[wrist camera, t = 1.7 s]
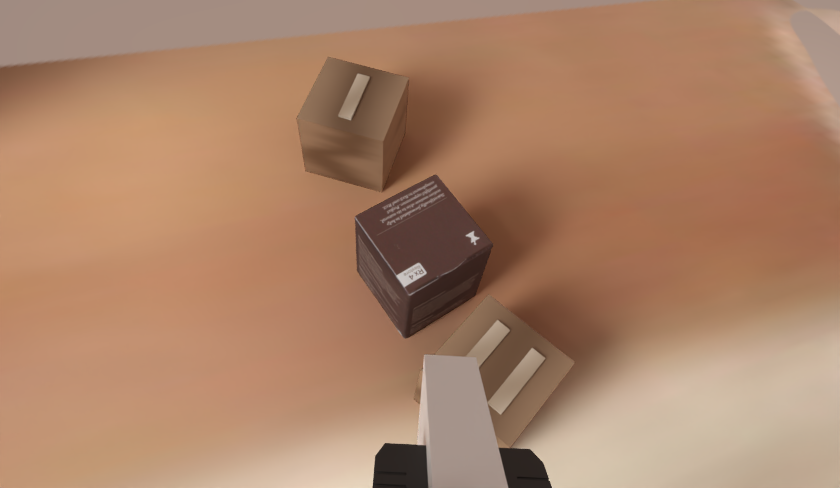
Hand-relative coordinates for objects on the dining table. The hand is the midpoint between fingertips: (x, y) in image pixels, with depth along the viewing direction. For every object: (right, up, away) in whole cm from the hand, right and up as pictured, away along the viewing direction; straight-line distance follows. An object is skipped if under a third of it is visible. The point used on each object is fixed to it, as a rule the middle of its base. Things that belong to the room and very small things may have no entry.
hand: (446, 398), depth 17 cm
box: (-1, +2, +24) cm, 24 cm away
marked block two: (+3, -5, +20) cm, 21 cm away
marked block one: (-6, +12, +29) cm, 31 cm away
